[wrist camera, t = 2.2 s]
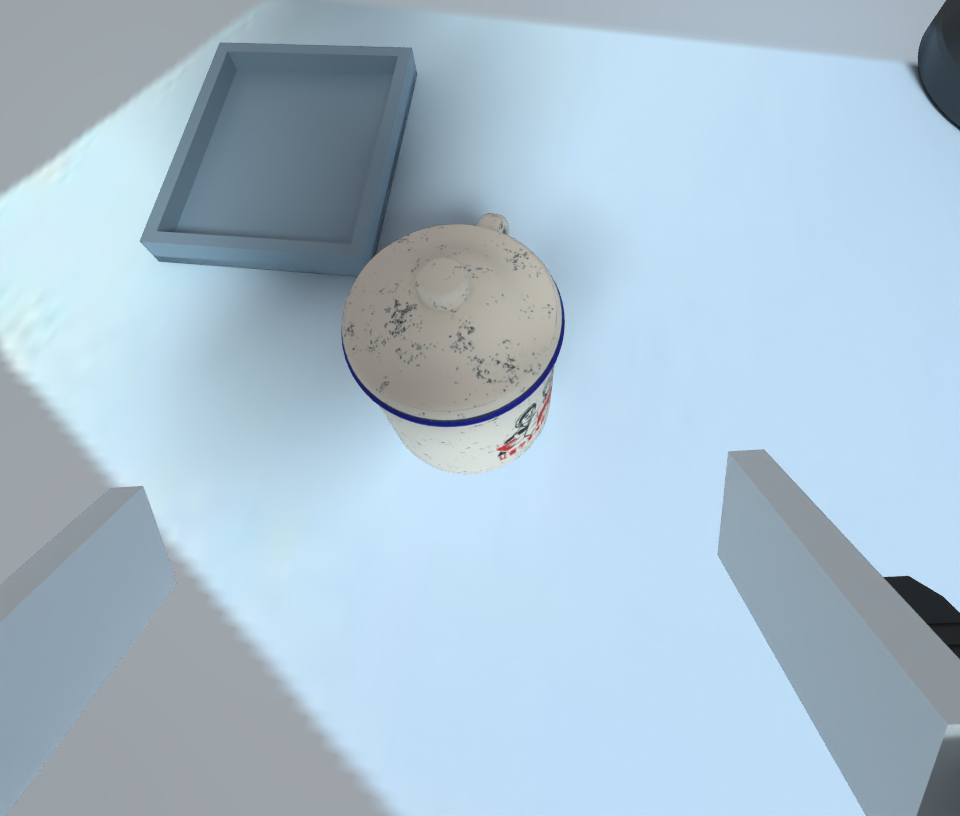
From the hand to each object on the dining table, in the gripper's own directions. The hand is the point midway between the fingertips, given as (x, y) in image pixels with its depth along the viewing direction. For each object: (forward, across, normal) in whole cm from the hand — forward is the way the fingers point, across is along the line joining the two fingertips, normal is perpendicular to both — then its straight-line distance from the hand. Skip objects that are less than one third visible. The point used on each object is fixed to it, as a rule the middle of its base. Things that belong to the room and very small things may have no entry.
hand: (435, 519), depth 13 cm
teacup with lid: (+19, 0, -4) cm, 19 cm away
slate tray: (+30, -11, +8) cm, 33 cm away
